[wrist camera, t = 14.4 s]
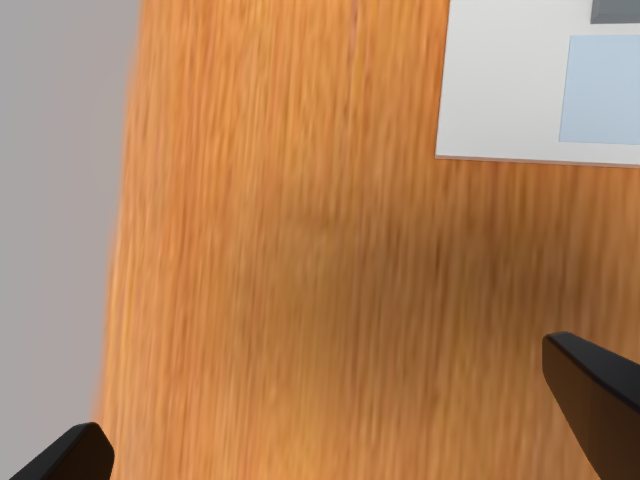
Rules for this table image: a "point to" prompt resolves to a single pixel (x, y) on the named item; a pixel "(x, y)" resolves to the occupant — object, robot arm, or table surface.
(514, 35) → the board
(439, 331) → the table surface
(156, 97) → the table surface
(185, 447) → the table surface
